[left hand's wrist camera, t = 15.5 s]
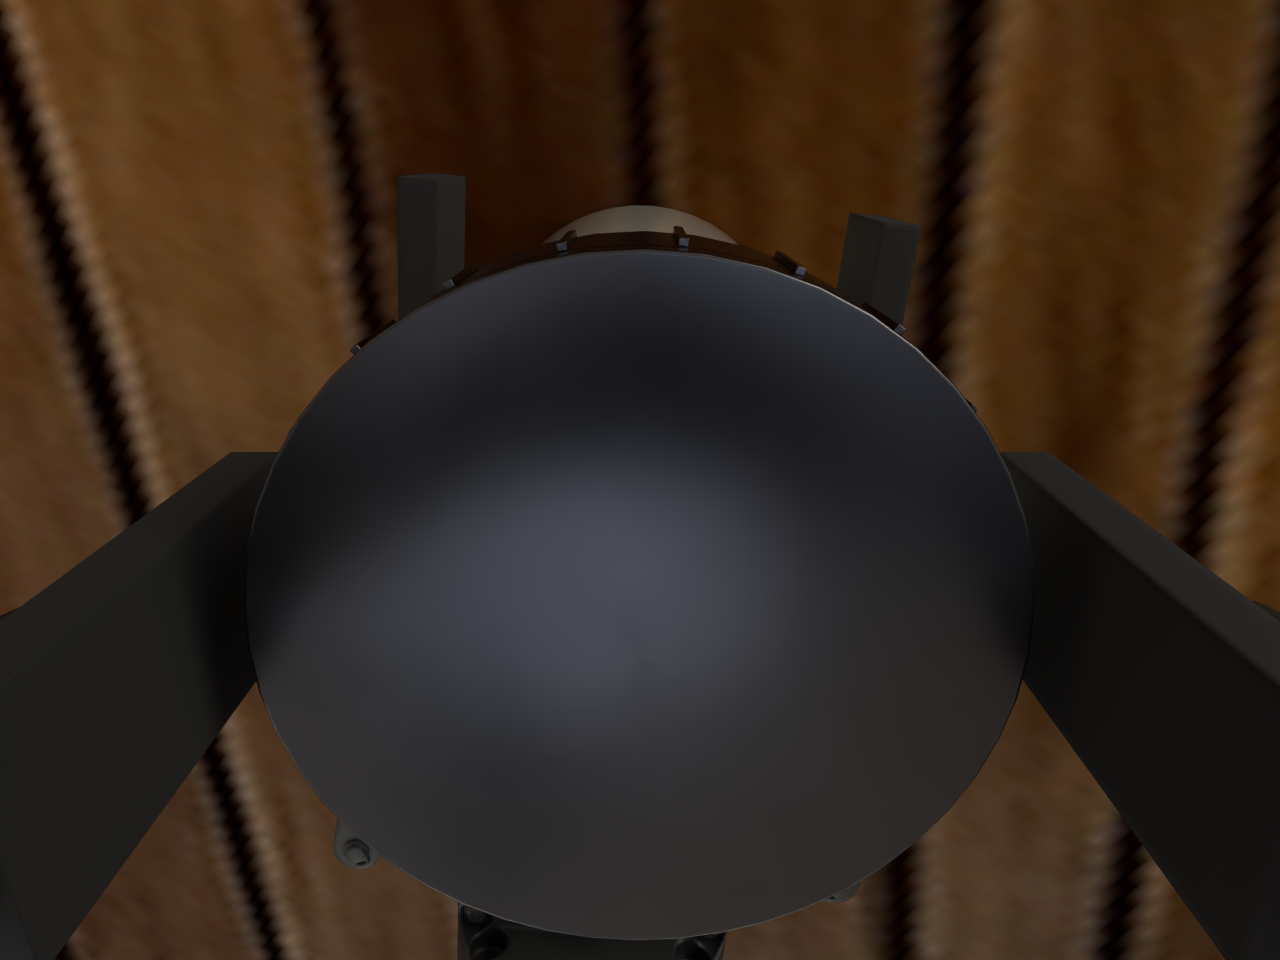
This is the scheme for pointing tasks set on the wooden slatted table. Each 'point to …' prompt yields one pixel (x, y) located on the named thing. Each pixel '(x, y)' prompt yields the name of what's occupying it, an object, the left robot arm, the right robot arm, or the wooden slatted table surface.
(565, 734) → the lid
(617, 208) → the jar
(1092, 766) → the left robot arm
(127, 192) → the wooden slatted table surface
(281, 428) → the wooden slatted table surface
